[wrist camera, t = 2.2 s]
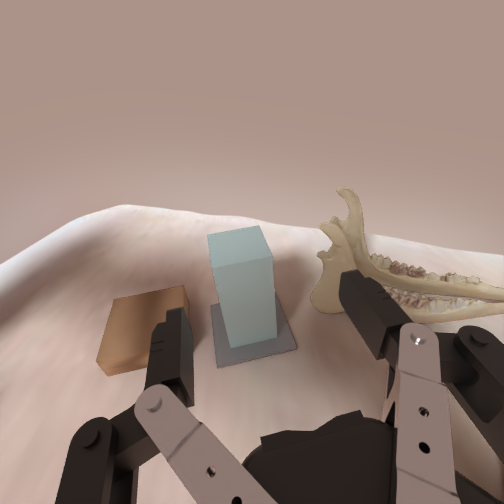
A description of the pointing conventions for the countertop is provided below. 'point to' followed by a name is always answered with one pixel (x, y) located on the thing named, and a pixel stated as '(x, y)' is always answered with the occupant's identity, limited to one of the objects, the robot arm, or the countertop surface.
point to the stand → (136, 328)
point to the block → (244, 284)
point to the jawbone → (396, 276)
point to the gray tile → (254, 350)
